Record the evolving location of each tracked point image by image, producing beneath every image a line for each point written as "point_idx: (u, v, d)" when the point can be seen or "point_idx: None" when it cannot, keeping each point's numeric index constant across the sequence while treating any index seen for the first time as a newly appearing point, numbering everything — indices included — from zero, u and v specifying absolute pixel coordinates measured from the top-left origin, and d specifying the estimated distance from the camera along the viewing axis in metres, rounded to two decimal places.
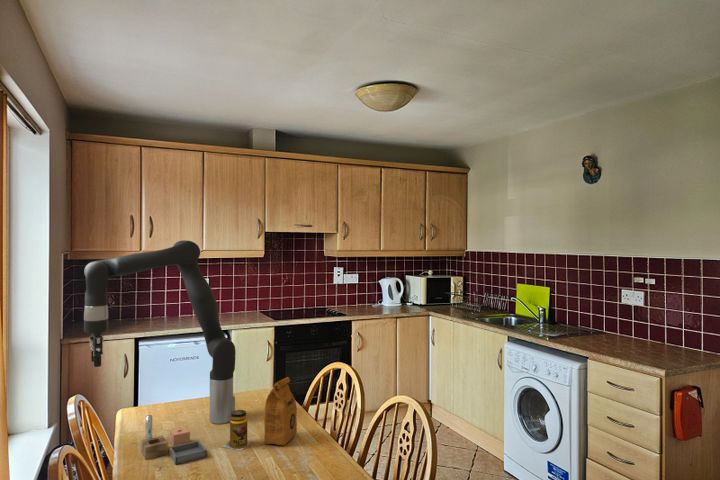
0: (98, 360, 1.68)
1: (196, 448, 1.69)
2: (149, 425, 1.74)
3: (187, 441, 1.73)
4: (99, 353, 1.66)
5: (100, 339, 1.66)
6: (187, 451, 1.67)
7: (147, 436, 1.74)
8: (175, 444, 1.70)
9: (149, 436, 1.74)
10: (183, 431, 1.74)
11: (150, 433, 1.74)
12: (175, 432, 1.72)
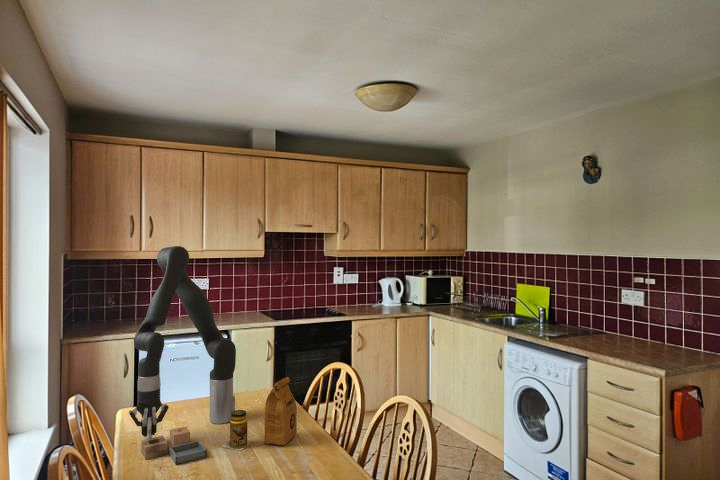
0: None
1: (196, 448, 1.69)
2: (149, 425, 1.74)
3: (187, 441, 1.73)
4: None
5: None
6: (187, 451, 1.67)
7: (147, 436, 1.74)
8: (175, 444, 1.70)
9: (149, 436, 1.74)
10: (183, 431, 1.74)
11: (150, 433, 1.74)
12: (175, 432, 1.72)
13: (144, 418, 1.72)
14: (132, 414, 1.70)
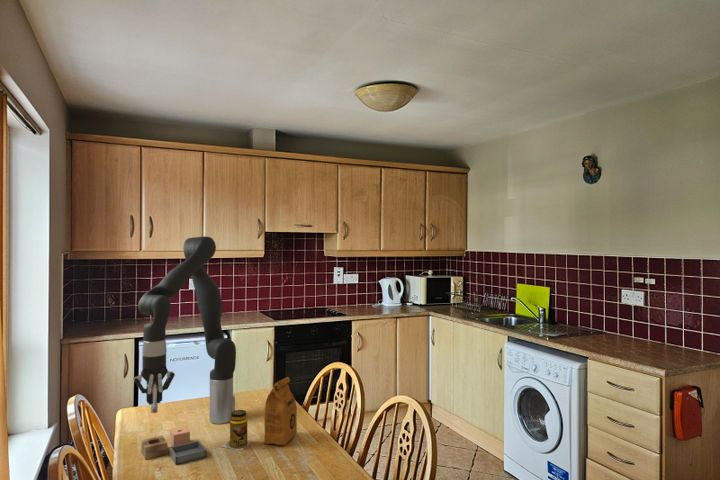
0: None
1: (196, 448, 1.69)
2: (154, 393, 1.66)
3: (187, 441, 1.73)
4: None
5: None
6: (187, 451, 1.67)
7: (152, 404, 1.66)
8: (175, 444, 1.70)
9: (154, 404, 1.66)
10: (183, 431, 1.74)
11: (155, 401, 1.66)
12: (175, 432, 1.72)
13: (149, 385, 1.65)
14: (137, 380, 1.63)
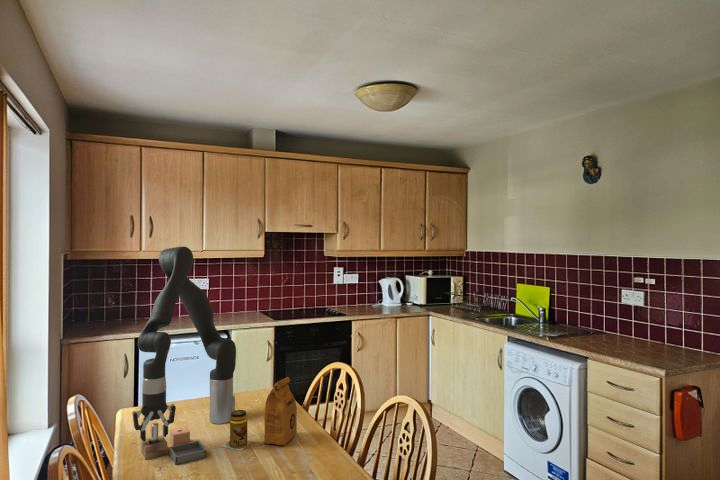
0: None
1: (196, 448, 1.69)
2: (155, 434, 1.66)
3: (187, 441, 1.73)
4: None
5: None
6: (187, 451, 1.67)
7: None
8: (175, 444, 1.70)
9: None
10: (183, 431, 1.74)
11: (156, 442, 1.67)
12: (175, 432, 1.72)
13: (146, 422, 1.64)
14: (135, 415, 1.63)
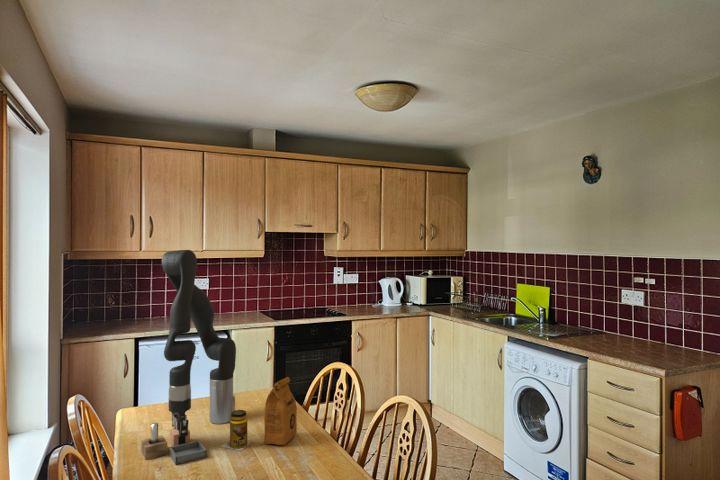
0: None
1: (196, 448, 1.69)
2: (154, 434, 1.66)
3: (187, 441, 1.73)
4: None
5: None
6: (187, 451, 1.67)
7: None
8: (175, 444, 1.70)
9: None
10: (183, 431, 1.74)
11: (156, 442, 1.67)
12: (175, 432, 1.72)
13: None
14: None
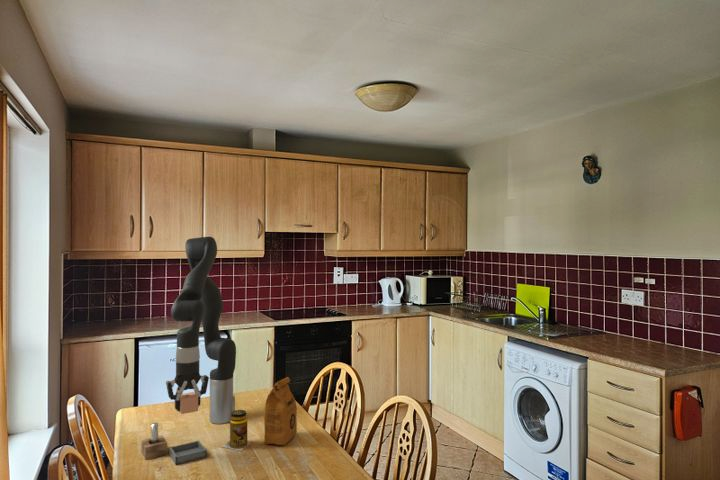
0: None
1: (196, 448, 1.69)
2: (154, 434, 1.66)
3: (180, 408, 1.62)
4: None
5: None
6: (187, 451, 1.67)
7: None
8: None
9: None
10: (185, 396, 1.64)
11: (156, 442, 1.67)
12: (184, 394, 1.66)
13: (180, 391, 1.62)
14: (170, 384, 1.61)
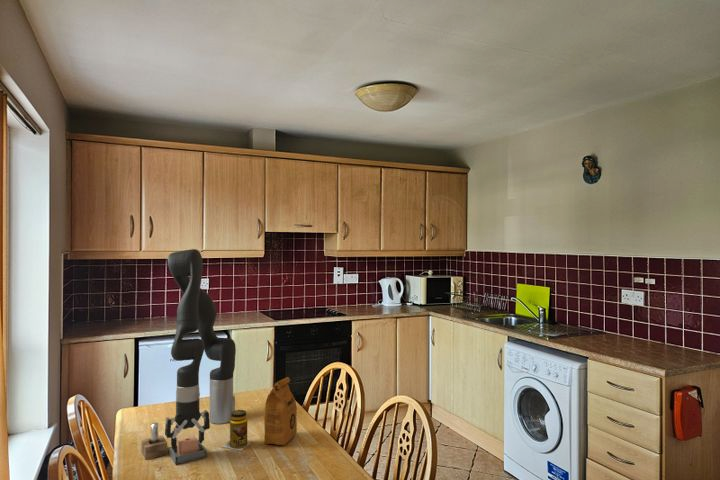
0: None
1: None
2: (154, 434, 1.66)
3: (180, 453, 1.62)
4: None
5: None
6: None
7: None
8: (177, 448, 1.65)
9: None
10: (185, 441, 1.64)
11: (156, 442, 1.67)
12: (184, 438, 1.66)
13: (178, 429, 1.62)
14: (169, 422, 1.61)
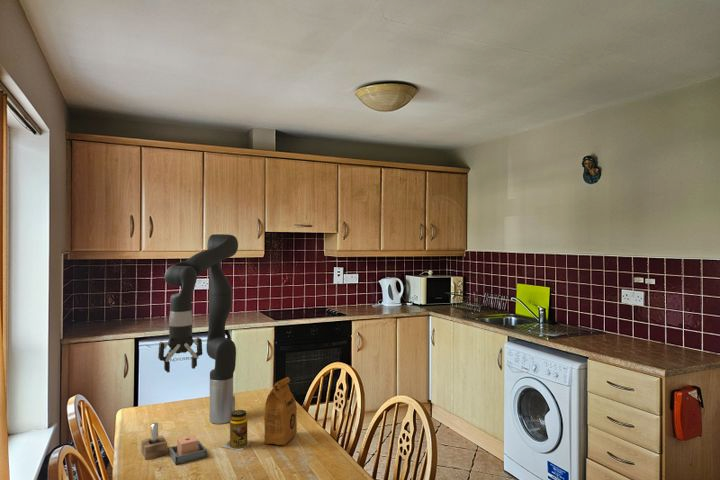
0: None
1: None
2: (154, 434, 1.66)
3: (180, 453, 1.62)
4: None
5: None
6: None
7: None
8: (177, 448, 1.65)
9: None
10: (185, 441, 1.64)
11: (156, 442, 1.67)
12: (184, 438, 1.66)
13: (171, 353, 1.66)
14: (163, 345, 1.64)
